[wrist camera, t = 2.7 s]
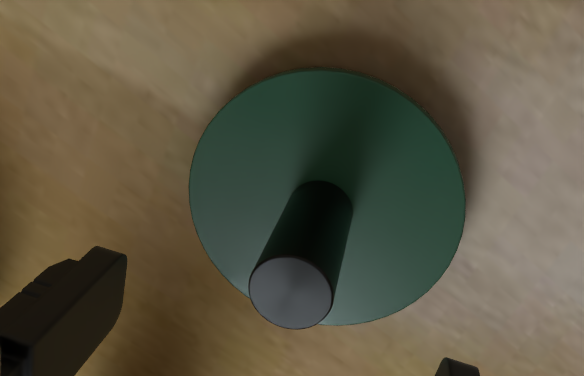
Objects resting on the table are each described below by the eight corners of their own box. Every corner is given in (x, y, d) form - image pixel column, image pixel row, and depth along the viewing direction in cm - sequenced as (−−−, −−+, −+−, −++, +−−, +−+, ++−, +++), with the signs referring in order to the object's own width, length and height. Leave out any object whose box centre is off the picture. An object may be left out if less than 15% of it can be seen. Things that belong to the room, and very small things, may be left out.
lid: (507, 108, 18) (556, 182, 12) (411, 339, 22) (412, 478, 16) (222, 30, 19) (135, 61, 13) (182, 266, 23) (102, 372, 17)
